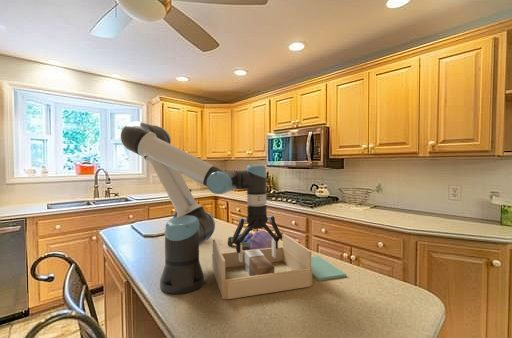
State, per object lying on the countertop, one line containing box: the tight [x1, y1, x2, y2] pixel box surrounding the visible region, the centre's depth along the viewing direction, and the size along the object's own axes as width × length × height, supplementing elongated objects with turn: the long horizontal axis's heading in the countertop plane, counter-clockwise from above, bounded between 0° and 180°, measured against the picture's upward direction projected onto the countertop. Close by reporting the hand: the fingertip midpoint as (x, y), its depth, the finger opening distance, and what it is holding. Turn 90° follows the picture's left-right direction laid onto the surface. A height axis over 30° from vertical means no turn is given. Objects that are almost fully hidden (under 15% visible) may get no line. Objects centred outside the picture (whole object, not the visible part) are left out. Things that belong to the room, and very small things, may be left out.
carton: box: [211, 233, 313, 300], centre depth 98 cm, size 32×27×12 cm
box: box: [244, 249, 275, 276], centre depth 98 cm, size 6×18×7 cm, turn 17°
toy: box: [227, 230, 274, 250], centre depth 128 cm, size 18×11×30 cm
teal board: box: [311, 255, 347, 281], centre depth 106 cm, size 12×20×1 cm, turn 17°
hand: (257, 258), depth 101 cm, fingers open, 13 cm apart
